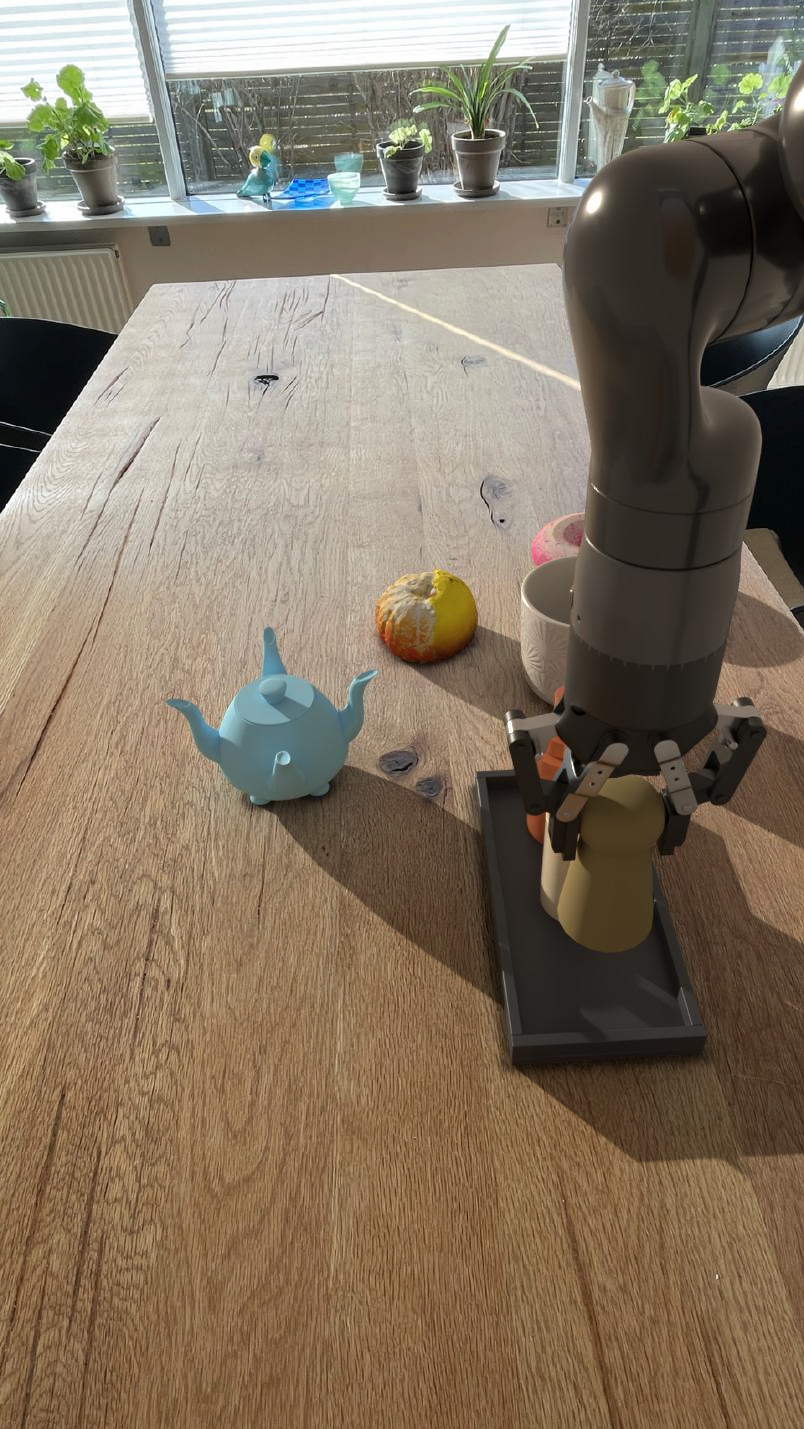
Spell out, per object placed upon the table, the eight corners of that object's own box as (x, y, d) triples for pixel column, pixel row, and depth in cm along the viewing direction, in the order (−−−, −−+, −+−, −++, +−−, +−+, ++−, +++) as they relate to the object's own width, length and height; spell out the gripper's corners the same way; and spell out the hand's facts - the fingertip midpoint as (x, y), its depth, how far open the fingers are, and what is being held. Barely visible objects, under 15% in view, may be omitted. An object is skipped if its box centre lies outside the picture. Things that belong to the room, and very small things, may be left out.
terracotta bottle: (604, 829, 77) (622, 698, 68) (556, 859, 75) (568, 728, 66) (559, 793, 80) (571, 663, 71) (513, 821, 78) (519, 691, 69)
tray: (701, 1054, 63) (707, 1035, 61) (511, 1065, 63) (512, 1046, 61) (620, 782, 82) (623, 762, 81) (475, 790, 82) (475, 771, 81)
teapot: (283, 709, 92) (268, 622, 85) (392, 760, 85) (386, 671, 79) (186, 787, 84) (162, 699, 77) (299, 850, 78) (283, 760, 71)
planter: (535, 735, 87) (541, 638, 80) (503, 655, 96) (506, 562, 89) (665, 716, 88) (682, 620, 81) (621, 639, 98) (633, 547, 90)
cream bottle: (623, 902, 71) (646, 771, 62) (572, 938, 69) (588, 806, 60) (575, 860, 75) (590, 729, 66) (525, 893, 72) (533, 762, 63)
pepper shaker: (574, 865, 64) (587, 745, 57) (663, 893, 62) (688, 772, 55) (544, 932, 60) (553, 812, 53) (638, 966, 58) (661, 845, 51)
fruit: (401, 592, 105) (418, 536, 99) (482, 638, 103) (505, 583, 97) (348, 645, 98) (363, 587, 92) (434, 695, 96) (455, 639, 90)
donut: (521, 597, 104) (523, 558, 101) (541, 536, 114) (543, 499, 111) (646, 611, 101) (652, 571, 98) (656, 548, 111) (661, 509, 108)
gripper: (510, 669, 43) (502, 904, 54) (827, 650, 43) (754, 890, 54) (493, 579, 49) (488, 809, 60) (772, 563, 49) (716, 796, 60)
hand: (614, 846), depth 57 cm, fingers closed on pepper shaker, 5 cm apart
